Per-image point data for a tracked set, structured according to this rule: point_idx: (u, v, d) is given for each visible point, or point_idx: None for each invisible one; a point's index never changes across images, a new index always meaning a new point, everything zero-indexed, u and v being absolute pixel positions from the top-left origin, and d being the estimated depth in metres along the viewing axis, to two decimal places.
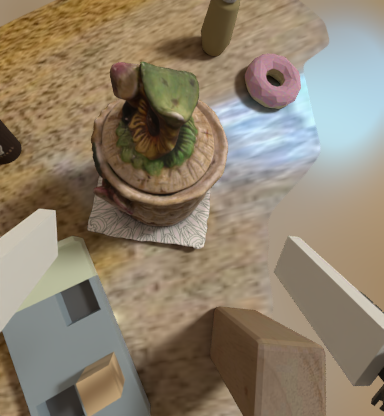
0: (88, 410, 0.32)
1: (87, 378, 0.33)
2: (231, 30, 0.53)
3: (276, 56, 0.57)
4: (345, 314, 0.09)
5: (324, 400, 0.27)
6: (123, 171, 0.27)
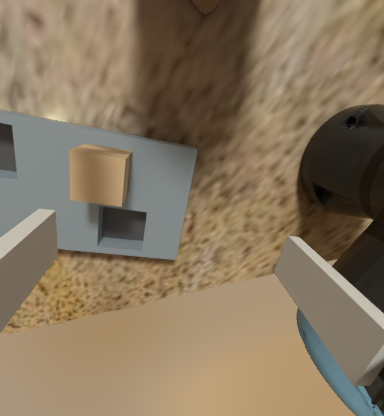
0: (113, 202, 0.22)
1: (71, 184, 0.21)
2: None
3: None
4: (345, 314, 0.09)
5: None
6: None
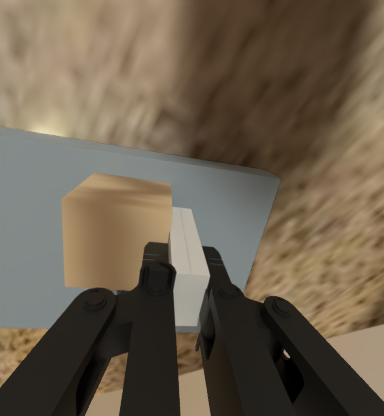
0: None
1: (67, 260, 0.11)
2: None
3: None
4: None
5: None
6: None
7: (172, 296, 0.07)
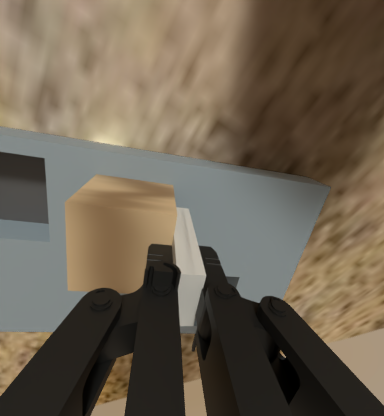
0: None
1: (70, 264, 0.11)
2: None
3: None
4: None
5: None
6: None
7: (176, 297, 0.07)
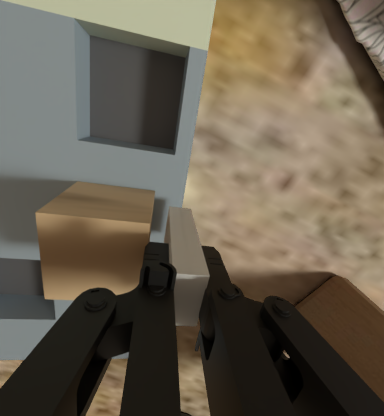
0: (50, 287, 0.11)
1: (76, 219, 0.10)
2: None
3: None
4: None
5: None
6: None
7: (172, 296, 0.07)
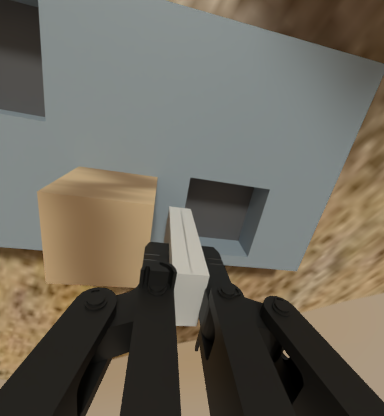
0: (129, 282, 0.12)
1: (46, 256, 0.11)
2: None
3: None
4: None
5: None
6: None
7: (173, 297, 0.07)
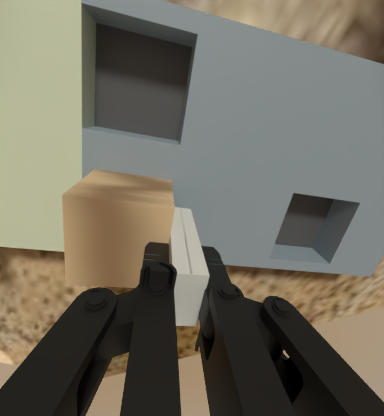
0: None
1: (68, 257, 0.11)
2: None
3: None
4: None
5: None
6: None
7: (173, 296, 0.07)
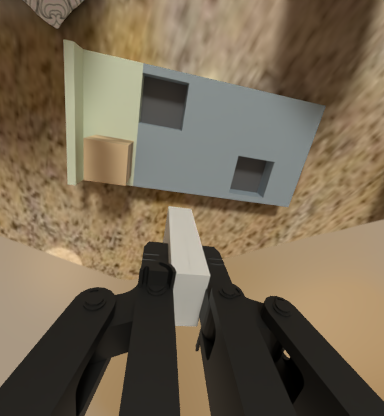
0: (118, 182, 0.27)
1: (85, 166, 0.26)
2: None
3: None
4: None
5: None
6: None
7: (172, 296, 0.07)
